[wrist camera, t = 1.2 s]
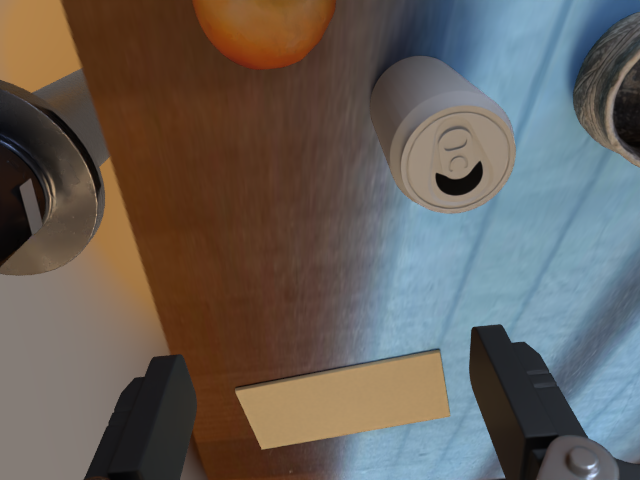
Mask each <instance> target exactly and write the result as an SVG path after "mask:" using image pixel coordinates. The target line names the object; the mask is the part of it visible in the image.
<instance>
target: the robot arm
mask: <svg viewBox="0 0 640 480" xmlns="http://www.w3.org/2000/svg"><path fill="white" fill-rule="evenodd" d="M50 211H51V193H50V189H49V186H48V183H47V181H46V179H45V177H44V175H43V173H42V171H41V170H40V168H39V167H38V166H37V164H36V163H35V162H34V161H33V160H32V159H31V158H30V157H29V156H28V155H27V154H26V153H25V152H24V151H23V150H22V149H20V148H19V147H17V146H16V145H15V144H13V143H11V142H10V141H8V140H6V139H4V138H2V137H0V267H1V266H2V265H3V264H4V263H5V262H6V261H7V260H8V259H9V258H10V257H11V256H12V255H13V254H14V253H15V252H16V251H17V250H18V249H19V248H20V247H21V246H22V245H23V244H24V243H25V242H26V241H27V240H28V239H29V238H31V237H32V236H33V235H35V234H36V233H37V232H38V231H39V230H40V229H41V228H42V227H43V226H44V224H45V223H46V221H47V219H48V217H49V214H50ZM469 374H470V381H471V385H472V389H473V392H474V395H475V398H476V400H477V403H478V406H479V408H480V411H481V414H482V416H483V419H484V422H485V424H486V427H487V430H488V432H489V435H490V438H491V440H492V443H493V446H494V448H495V451H496V454H497V456H498V459H499V462H500V464H501V467H502V470H503V472H504V475H505V478H506V480H640V465H638V464H633V463H628V462H624V461H622V460H619V459H616V458H614V457H613V456H612V455H611V453H610V452H609V451H608V450H607V449H605V448H604V447H603V446H602V445H600V444H599V443H597V442H595V441H593V440H591V439H589V438H588V436H587V435H586V434H585V432H584V430H583V428H582V427H581V425H580V423H579V421H578V420H577V418H576V416H575V415H574V413H573V411H572V409H571V408H570V406H569V404H568V402H567V401H566V399H565V397H564V395H563V394H562V392H561V390H560V389H559V387H558V386H557V385H556V382H555V380H554V378H553V376H552V375H551V373H549V369H548V368H547V366H546V364H545V362H544V361H543V359H542V357H541V356H540V354H539V353H537V352H536V351H535V350H534V349H533V348H531V347H530V346H529V345H528V344H526V343H525V342H515V343H511V341H510V339H509V337H508V335H507V333H506V331H505V329H504V328H503V326H502V325H500V324H498V325H488V326H478V327H473V328H472V330H471V344H470V362H469ZM196 410H197V401H196V394H195V390H194V387H193V384H192V381H191V378H190V375H189V372H188V369H187V366H186V363H185V360H184V358H183V356H182V355H180V354H179V355H169V356H158V357H153V358H152V360H151V361H150V364H149V366H148V369H147V372H146V374H145V377H138V378H134V379H133V381H132V382H131V383H130V384H129V385H128V386H127V387H126V388H125V389H124V390H123V392H122V393H121V395H120V397H119V399H118V402H117V404H116V406H115V409H114V413H112V416H111V418H110V420H109V425H108V426H107V428H106V430H105V432H104V434H103V437H102V439H101V441H100V444H99V446H98V448H97V451H96V453H95V455H94V458H93V460H92V462H91V465H90V467H89V469H88V471H87V474H86V476H85V478H84V480H180V477H181V473H182V469H183V465H184V461H185V457H186V453H187V449H188V445H189V441H190V437H191V433H192V429H193V425H194V421H195V416H196Z"/></svg>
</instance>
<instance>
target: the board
mask: <svg viewBox="0 0 640 480" xmlns="http://www.w3.org/2000/svg"><path fill="white" fill-rule="evenodd" d="M235 392H236V395H237V397H238V399H239V401H240V403H241V405H242V407H243V410H244V412H245V414H246V416H247V418H248V420H249V423H250V425H251V427H252V429H253V431H254V433H255V436H256V438H257V440H258V442H259V444H260V446H261V448H262V449H268V448H274V447H279V446H285V445H291V444H296V443H302V442H308V441H314V440H319V439H325V438H331V437H336V436H342V435H348V434H353V433H359V432H365V431H370V430H376V429H382V428H387V427H393V426H399V425H404V424H410V423H416V422H421V421H427V420H433V419H439V418H444V417H450V411H449V405H448V399H447V392H446V386H445V380H444V374H443V367H442V361H441V355H440V351H439V350H433V351H428V352H423V353H418V354H412V355H407V356H402V357H397V358H391V359H386V360H381V361H376V362H370V363H365V364H360V365H355V366H349V367H344V368H339V369H334V370H328V371H323V372H318V373H313V374H307V375H302V376H297V377H292V378H286V379H281V380H276V381H271V382H265V383H260V384H255V385H250V386H244V387H239V388H235Z"/></svg>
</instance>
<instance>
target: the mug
mask: <svg viewBox="0 0 640 480" xmlns="http://www.w3.org/2000/svg"><path fill="white" fill-rule="evenodd" d="M573 104H574V110H575V112H576V115H577V118H578V120H579V122H580V124H581V125H582V126H583V128H584V129H585V130H586V131H587V132H588V133H589V135H590V136H591V137H592V138H593V139H594V140H595V141H596V142H599V143H600V144H601V145H602V146H604V147H606V148H608V149H610V150H612V151H614V152H616V153H619V154H620V155H622V156H623V157H624V158H625V159H627V160H628V161H629V162H631V163H632V164H634V165H636V166H638V167H640V12H637V13H635V14H632V15H630V16H628V17H626V18H624V19H622V20H620V21H619V22H617V23H616V24H614V25H613V26H612V27H611V28H609V29H608V31H607V32H606V33H604V34H603V36H602V37H601V38H600V39H599V40H598V41H597V42H596V43H595V45H594V46H593V47H592V49H591V50H590V51H589V53H588V55H587V56H586V58H585V59H584V62H583V64H582V66H581V69H580V71H579V74H578V76H577V79H576V83H575V87H574V92H573Z"/></svg>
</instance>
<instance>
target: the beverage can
mask: <svg viewBox="0 0 640 480" xmlns="http://www.w3.org/2000/svg"><path fill="white" fill-rule="evenodd" d="M370 115H371V119H372V122H373V125H374V128H375V131H376V133H377V136H378V139H379V141H380V144H381V146H382V149H383V152H384V154H385V157H386V160H387V162H388V165H389V168H390V170H391V173H392V176H393V178H394V180H395V182H396V184H397V186H398V187H399V189H400V190H401V191H402V192H403V193H404V194H405V195H406V196H407V197H408V198H409V199H411V200H412V201H414V202H416V203H418V204H420V205H421V206H423V207H425V208H427V209H429V210H432V211H436V212H440V213H461V212H466V211H469V210H472V209H475V208H477V207H479V206H481V205H483V204H484V203H486V202H487V201H489V200H490V199H491V198H493V197H494V196H495V195H496V194H497V193H498V192H499V191H500V190H501V189H502V187H503V186H504V185H505V183H506V182H507V180H508V178H509V176H510V174H511V172H512V169H513V166H514V162H515V156H516V147H515V141H514V133H513V129H512V125H511V123H510V120H509V118H508V116H507V115H506V113H505V112H504V111H503V109H502V108H501V107H500V106H499V105H498V104H497V103H496V102H494V101H493V100H492V99H491V98H489V97H488V96H487V95H485V94H484V93H483V92H482V91H480V90H479V89H478V88H476V87H475V86H474V85H473V84H471V83H470V82H469V81H468V80H466V79H465V78H464V77H462V76H461V75H460V74H459V73H457V72H456V71H455V70H453V69H452V68H451V67H450V66H448V65H447V64H446V63H444V62H442V61H441V60H438V59H436V58H433V57H428V56H413V57H408V58H405V59H403V60H400V61H398V62H396V63H395V64H393V65H392V66H390V67H389V68H388V69H387V70H386V71H385V72H384V73H383V74H382V75H381V77H380V78H379V79H378V81H377V83H376V85H375V87H374V89H373V92H372V95H371V100H370Z"/></svg>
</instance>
